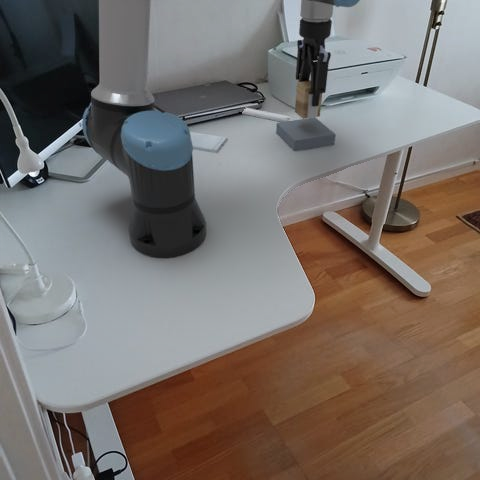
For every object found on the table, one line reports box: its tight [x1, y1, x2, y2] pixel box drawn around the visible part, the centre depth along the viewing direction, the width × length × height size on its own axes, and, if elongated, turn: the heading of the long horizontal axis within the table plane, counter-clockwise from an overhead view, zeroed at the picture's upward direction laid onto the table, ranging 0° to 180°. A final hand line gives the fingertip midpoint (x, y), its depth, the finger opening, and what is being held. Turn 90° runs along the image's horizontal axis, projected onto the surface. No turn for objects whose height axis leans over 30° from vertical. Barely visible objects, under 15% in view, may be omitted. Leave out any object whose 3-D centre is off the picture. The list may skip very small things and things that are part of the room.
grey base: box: [275, 117, 336, 152], centre depth 124 cm, size 12×12×3 cm
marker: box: [241, 107, 293, 123], centre depth 136 cm, size 18×2×2 cm, turn 62°
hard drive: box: [190, 131, 229, 154], centre depth 123 cm, size 2×8×12 cm
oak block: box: [294, 80, 323, 119], centre depth 118 cm, size 5×5×8 cm
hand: (307, 112), depth 121 cm, fingers closed on oak block, 5 cm apart
